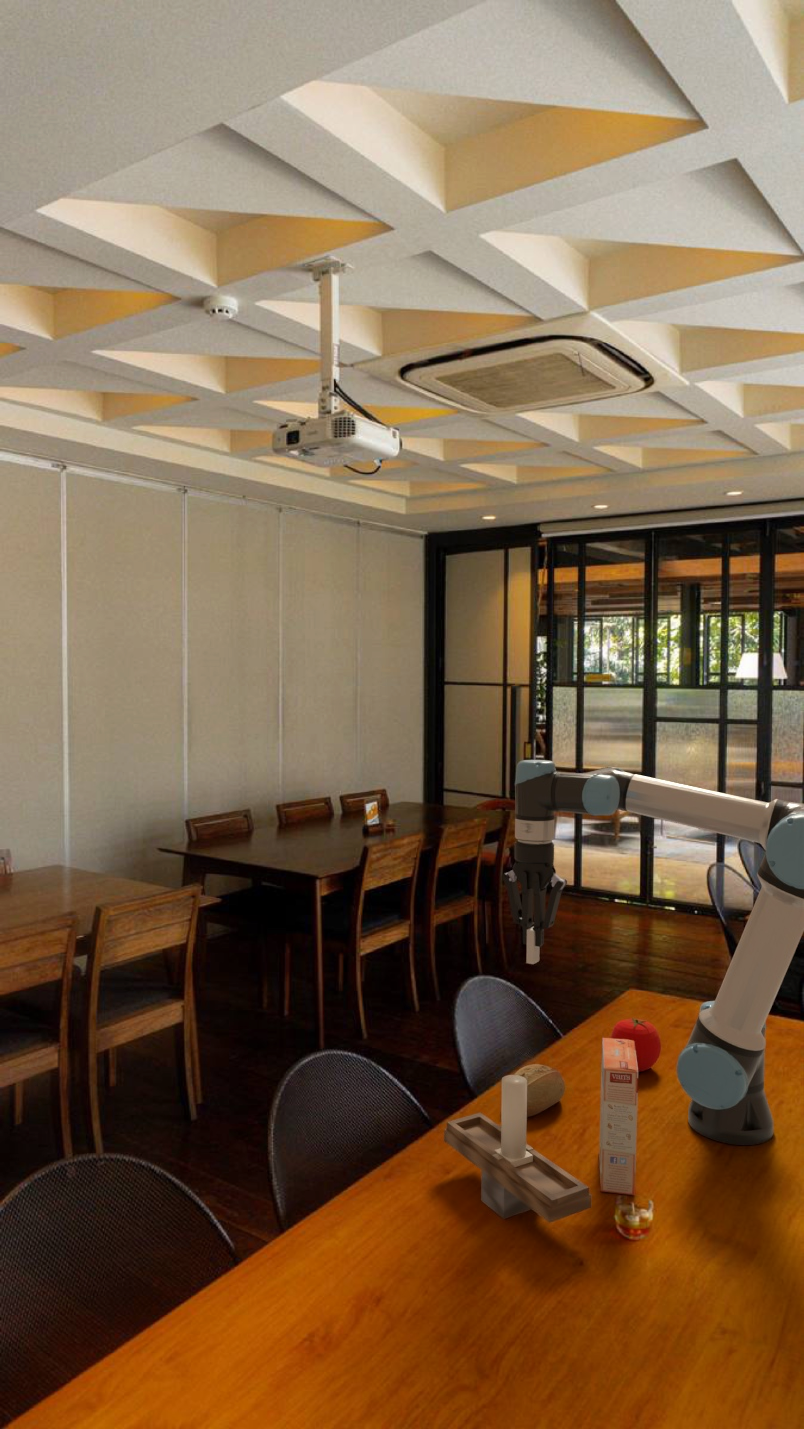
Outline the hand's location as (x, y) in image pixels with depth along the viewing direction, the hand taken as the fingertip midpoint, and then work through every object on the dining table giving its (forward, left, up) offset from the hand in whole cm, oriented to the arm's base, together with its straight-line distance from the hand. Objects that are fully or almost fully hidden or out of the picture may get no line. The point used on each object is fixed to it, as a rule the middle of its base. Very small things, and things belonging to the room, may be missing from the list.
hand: (532, 961), depth 182 cm
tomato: (-10, -31, -30) cm, 44 cm away
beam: (-11, +31, -29) cm, 44 cm away
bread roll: (0, -2, -30) cm, 30 cm away
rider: (-11, +31, -22) cm, 40 cm away
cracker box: (-22, +13, -30) cm, 39 cm away
